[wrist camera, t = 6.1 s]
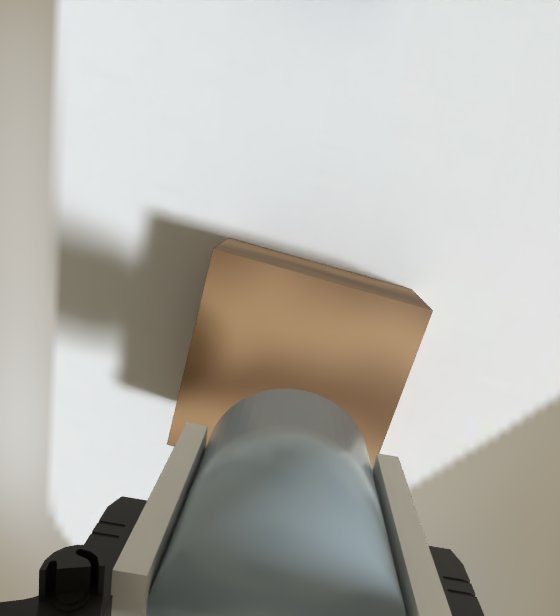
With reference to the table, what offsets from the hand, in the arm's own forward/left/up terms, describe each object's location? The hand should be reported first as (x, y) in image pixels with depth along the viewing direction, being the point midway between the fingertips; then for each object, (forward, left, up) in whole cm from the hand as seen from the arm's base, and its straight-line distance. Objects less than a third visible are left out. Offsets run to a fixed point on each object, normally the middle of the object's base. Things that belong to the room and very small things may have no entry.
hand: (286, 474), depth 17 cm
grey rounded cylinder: (0, 0, -1) cm, 1 cm away
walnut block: (0, 0, -13) cm, 13 cm away
